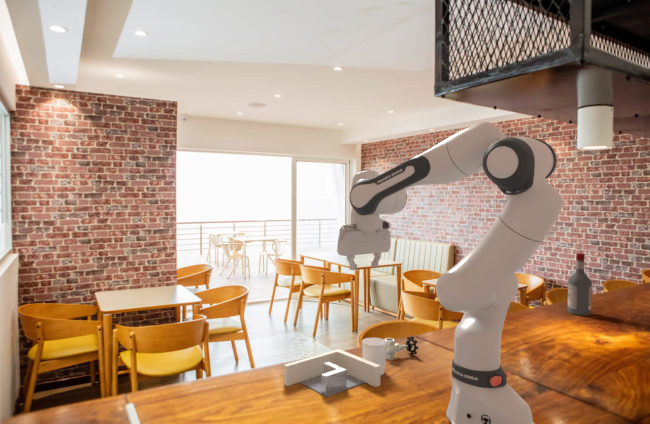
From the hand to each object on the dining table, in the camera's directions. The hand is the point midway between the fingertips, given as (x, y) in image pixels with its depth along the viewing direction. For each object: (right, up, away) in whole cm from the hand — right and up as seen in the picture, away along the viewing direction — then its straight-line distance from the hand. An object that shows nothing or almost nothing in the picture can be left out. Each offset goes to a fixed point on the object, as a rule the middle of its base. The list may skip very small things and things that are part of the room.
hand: (364, 268), depth 134 cm
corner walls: (-10, -34, -5) cm, 36 cm away
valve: (+14, -34, +20) cm, 42 cm away
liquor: (+115, -34, +84) cm, 147 cm away
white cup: (+4, -34, +5) cm, 35 cm away
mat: (-10, -34, -3) cm, 36 cm away
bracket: (-11, -34, -5) cm, 36 cm away
